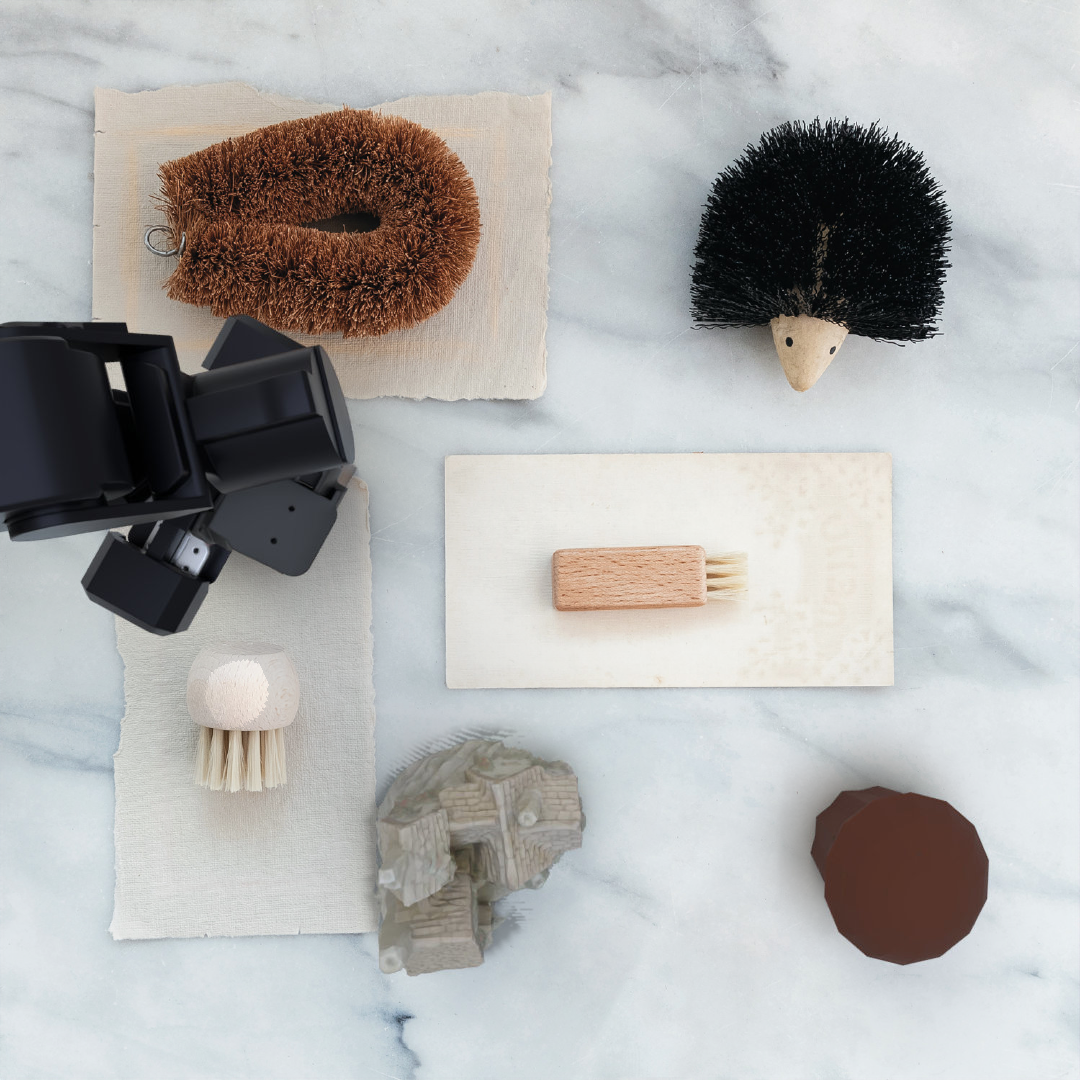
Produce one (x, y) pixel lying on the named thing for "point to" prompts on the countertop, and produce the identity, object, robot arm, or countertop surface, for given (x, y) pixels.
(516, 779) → the ceramic cottage
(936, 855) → the brown faceted knob
